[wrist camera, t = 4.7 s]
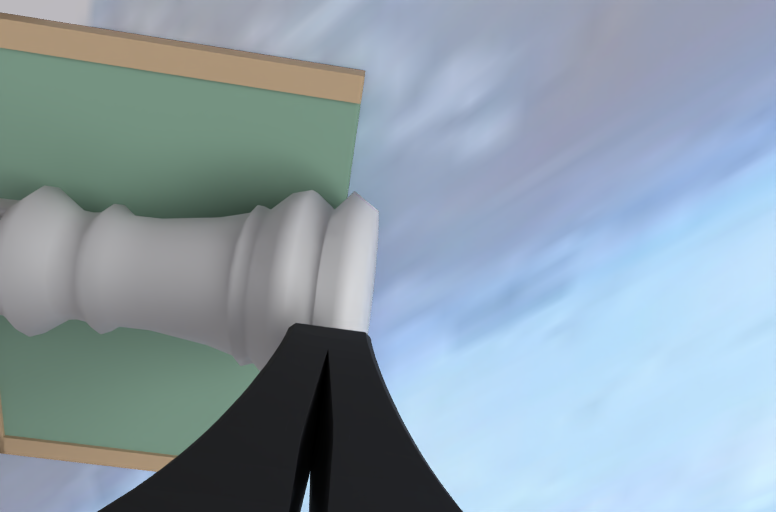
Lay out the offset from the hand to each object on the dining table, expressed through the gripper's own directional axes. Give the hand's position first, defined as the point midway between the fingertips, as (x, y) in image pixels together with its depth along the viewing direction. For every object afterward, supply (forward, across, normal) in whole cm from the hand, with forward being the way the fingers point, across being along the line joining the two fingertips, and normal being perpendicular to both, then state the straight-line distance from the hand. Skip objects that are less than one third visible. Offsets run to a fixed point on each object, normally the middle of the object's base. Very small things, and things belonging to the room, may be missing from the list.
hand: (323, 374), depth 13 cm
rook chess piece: (+3, -1, 0) cm, 3 cm away
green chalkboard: (+6, +4, +2) cm, 7 cm away
